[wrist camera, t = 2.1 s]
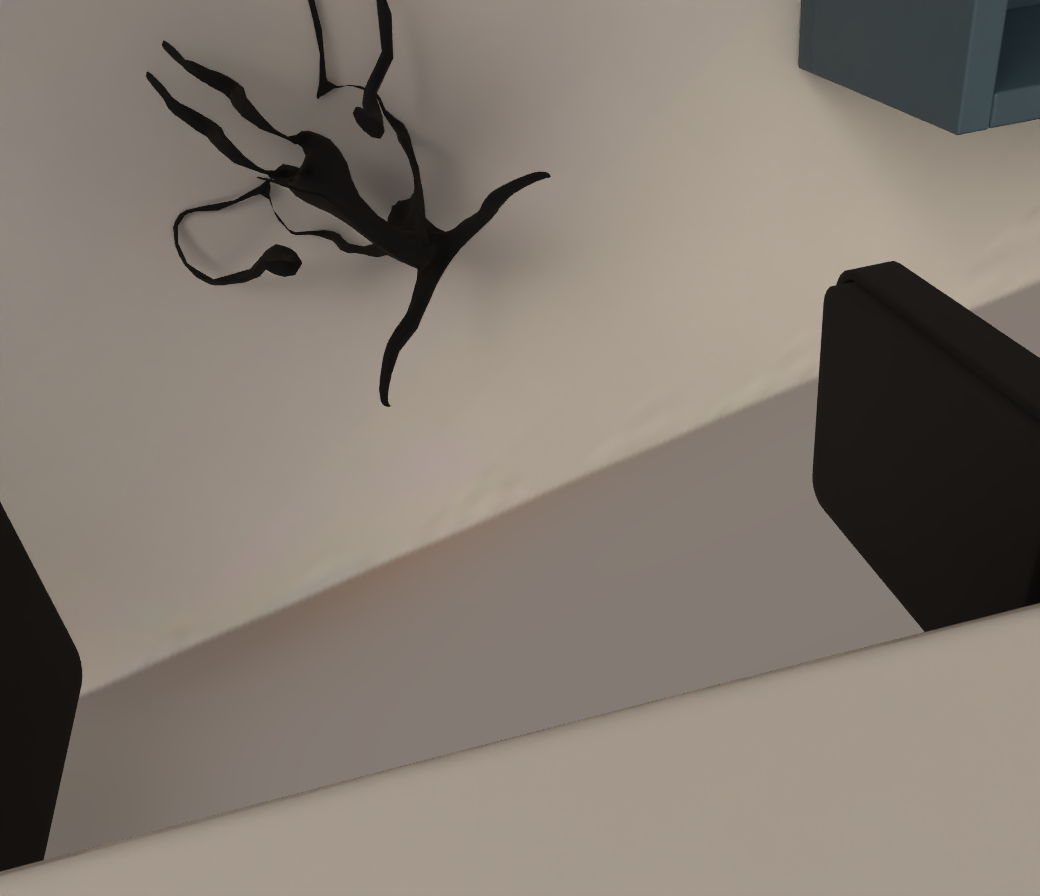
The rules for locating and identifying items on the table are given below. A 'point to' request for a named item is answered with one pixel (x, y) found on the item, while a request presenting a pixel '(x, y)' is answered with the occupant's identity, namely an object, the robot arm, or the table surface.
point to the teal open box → (931, 56)
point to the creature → (342, 189)
